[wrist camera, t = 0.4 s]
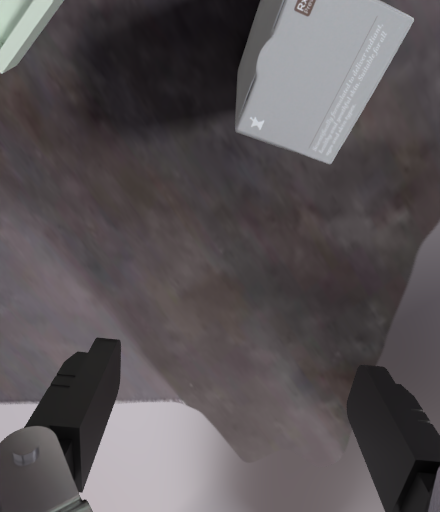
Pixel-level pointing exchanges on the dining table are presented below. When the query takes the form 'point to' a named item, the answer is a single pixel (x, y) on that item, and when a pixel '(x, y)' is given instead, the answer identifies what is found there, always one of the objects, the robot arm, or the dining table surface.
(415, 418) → the robot arm
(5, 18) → the tray
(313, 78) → the skincare box
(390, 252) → the dining table surface
